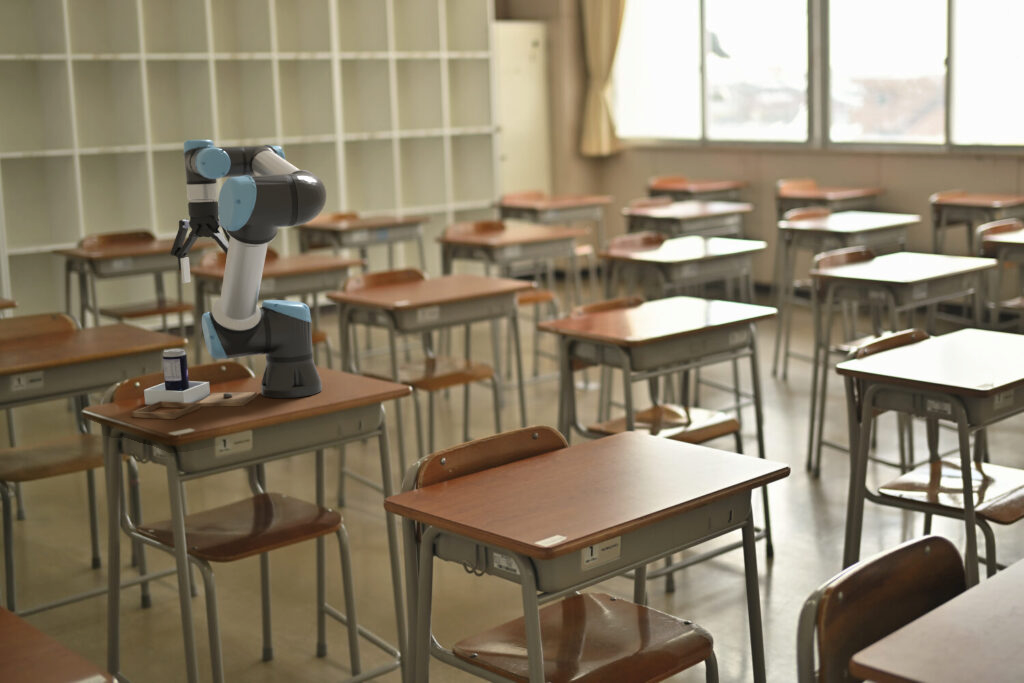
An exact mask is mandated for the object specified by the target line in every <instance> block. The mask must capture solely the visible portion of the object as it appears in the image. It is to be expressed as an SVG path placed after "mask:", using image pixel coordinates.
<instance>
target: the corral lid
mask: <svg viewBox="0 0 1024 683" xmlns="http://www.w3.org/2000/svg"><path fill="white" fill-rule="evenodd" d="M255 397H257V391H254V392H253V391H249V392H247V391H245V392H238V391H237V392H236V391H234V392H211V393H210V395H209V396H208V397H206V398H204V399H202V400H199V401H198V403H200V407H237V406H238V407H243V406H245V405H247V404H248V403H249V402H250V401H252V400H253V399H254V398H255Z"/></svg>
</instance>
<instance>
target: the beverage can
mask: <svg viewBox="0 0 1024 683" xmlns="http://www.w3.org/2000/svg"><path fill="white" fill-rule="evenodd" d="M162 364H163V376H164V378H163V379H164V383H165V390H168V391H185V390H187V389H189V381H190V380H189V370H188V356H187V352H186V350H185V349H184V348H180V347H179V348H170V349H169V348H168V349H164V350H163V354H162Z"/></svg>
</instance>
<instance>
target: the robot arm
mask: <svg viewBox="0 0 1024 683" xmlns="http://www.w3.org/2000/svg"><path fill="white" fill-rule="evenodd" d="M182 154H183V158H184V167H185V168H184V170H185V181H186V182H185V183H186V195H187V200H188V201H189V202H188V203H187V208H188V216H189V219H180V220H179V221H178V229H177V233H176V236H175V238H174V241H173V244H172V247H171V250H170V256H175V257H176V258H177V261H178V264H177V265H178V269H179V271H181V283H182V284H188V283H191V281H192V280H191V268H190V257H188V253H189V252H190V250H191V248H192V247H193V246H194V244H195V242H196V241H197V240H198V239H199V238H211V239H213V240H214V241H215V242H216V243H217V245H218V246H219V247H220V248H221V250H222V251H223V252H224V253H225V254H226V258H225V261H226V262H225V265H224V266H225V268H224V273H223V277H222V278H223V279H222V284H221V285H222V286H221V292H220V298H218V299H217V300H216V301H215V302H214V303H213V305H212V309H211V312H210V311H207V312H204V313H203V314H202V316H201V326H202V332H203V337H204V342H205V345H206V349H207V351H208V354H209V355H210V357H211V358H213V359H215V360H229V359H237V358H244V357H252V356H253V357H254V356H259V355H265V360H266V363H265V367H264V372H263V374H262V375H263V376H262V379H261V384H260V395H261V396H264V397H265V398H266V397H267V398H272V399H273V398H276V399H292V398H294V399H295V398H301V397H302V398H303V397H309V396H312V395H316V394H318V393H320V392H322V390H323V386H322V385H323V383H322V379H321V377H320V374H319V371H318V369H317V367H316V364H315V362H314V353H313V336H312V335H313V334H312V318H311V311H310V307H309V306H308V305H307V304H306V303H305V302H300V301H294V300H282V299H281V300H280V299H266V300H263V301H262V302H261V307H259V305H258V300H259V295H260V294H259V293H260V289H261V284H262V278H263V274H264V266H265V261H266V257H267V256H266V255H267V251H268V246H269V244H270V243H271V242H273V241H274V240H275V238H276V237H277V234H278V229H279V228H285V227H297V226H302V225H305V224H308V223H309V222H311V221H312V220H314V219H315V218H317V217H318V216H319V215H320V213H321V212H322V211H323V209H324V207H325V205H326V202H327V189H326V187H325V184H324V182H323V181H322V180H321V178H320V177H318V176H317V175H316V174H314V173H313V172H311V171H309V170H305V169H299V168H297V167H296V166H295V165H294V164H291V163H290V162H289V161H288V160H286V155H285V152H284V150H283V148H282V147H281V146H279V145H270V144H264V145H251V146H249V145H248V146H215V145H214V141H213V140H211V139H190V140H189V139H188V140H185V141H184V142H183V153H182ZM223 178H224V179H225V178H227V179H226V180H225V181H224V182H223V183H222V185H221V188H220V190H219V194H218V185H217V184H218V183H217V180H218V179H223ZM216 199H218V200H216ZM189 228H191V231H190V232H189V234H188V231H189ZM220 228H221V229H222V231H221V230H220ZM187 234H188V237H187V238H186V236H187ZM185 239H186V240H185Z"/></svg>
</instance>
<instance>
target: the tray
mask: <svg viewBox="0 0 1024 683" xmlns="http://www.w3.org/2000/svg"><path fill="white" fill-rule="evenodd" d="M143 393H144V394H143V395H144V405H148V406H149V405H151V404H154V403H157V402H159V401H167V402H186V403H198V402H200V401H202V400H203V399H205V398H206V397H208V396H209V395H210V394H211V390H210V381H195V380H194V381H193V380H192V381H191V380H189V389H187V390H185V391H168V390H165V382H162V383H160V384H156V385H154V386H151V387H148V388H146V389H144V390H143Z"/></svg>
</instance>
